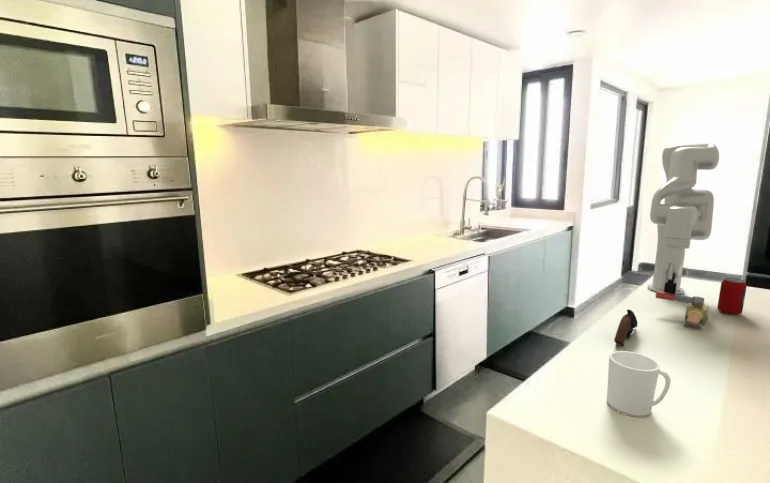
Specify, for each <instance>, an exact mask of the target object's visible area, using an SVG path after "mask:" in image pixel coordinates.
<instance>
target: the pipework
mask: <svg viewBox="0 0 770 483" xmlns="http://www.w3.org/2000/svg"><path fill="white" fill-rule="evenodd" d="M708 309H709V305H706V304H705V303H704V305H703V307H697V306H693V305H692V304H690V303H687V305H686V307H685V316H684V323H683V328H689V329H693V330H698V331H701V330H702V328H703V327H702V326H705V325H706V321H707V317H708V316H707V315H708Z"/></svg>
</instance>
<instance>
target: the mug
mask: <svg viewBox="0 0 770 483" xmlns="http://www.w3.org/2000/svg"><path fill="white" fill-rule="evenodd" d="M608 355H609V356H608V368H607V369H608V371H607V372H608V373H607V389H606V391H607V392H606V402H607V404H608V406H609V405H610V406H611V407H612V408H611V407H610V406H609V407H610V408H611V409H613V410H614V409H615V410H614V411H616V412H617V411H619V412H618V413H620V412H621V413H620V414H622V413H623V414H622V415H624V414H626V415H625V416H628V415H629V417H632V416H633V418H646V417H648V416H650V415H651V414H652V409H653V407H654V406H656V405H658V404H660V403H661V402H662V401H663V399H665V397H666V395H667V394H668V392H669V389H670V387H671V382H672V381H671V377H670V375H669V374H668V372H666V371H664V370H663V369H661V365H660V363H659V362H658V361H657V360H655V359H653V358H652V357H650V356H648V355H645V354H642V353H638V352H634V351H627V350H617V351H612V352H610V354H608ZM659 375H660V376H662V377H663V378H664V380H665V382H664V383H665V384H664V386H663V390H662V392H661V393H660V395H659V396H658V397H657V398H656V399H654V398H655V394H656V390H657V389H656V388H657V383H658V378H659Z"/></svg>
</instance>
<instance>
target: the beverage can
mask: <svg viewBox="0 0 770 483" xmlns="http://www.w3.org/2000/svg"><path fill="white" fill-rule="evenodd" d="M746 293H747V284H746V281H745V280H743V279H741V278H736V277H735V278H734V277H725V278H724V279H723V280H722V281H721V283H720V287H719V293H718V294H719V295H718V301H717V307H716V308H717V310H718V311H720V313H722V314H725V315H729V316H730V315H731V316H738V315H741V314H743V310H744V305H745V299H746Z"/></svg>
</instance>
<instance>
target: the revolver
mask: <svg viewBox="0 0 770 483" xmlns="http://www.w3.org/2000/svg"><path fill="white" fill-rule="evenodd" d="M626 313H627V314H624V315H623V316H622V317H621V319H620V321H619V324H618V327H617V330H616V333H615V337H614V340H613V341H614V343H615V345H618V346H623V347H624V346H625V343H626V339H628V340H629V339H631V335H632V334H633V331H634V329H635V328H637V327H638V323H639V322H638V320H637V318H636V317H637V316H636V315H635V313H634V311H633V310H632V309H626Z"/></svg>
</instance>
